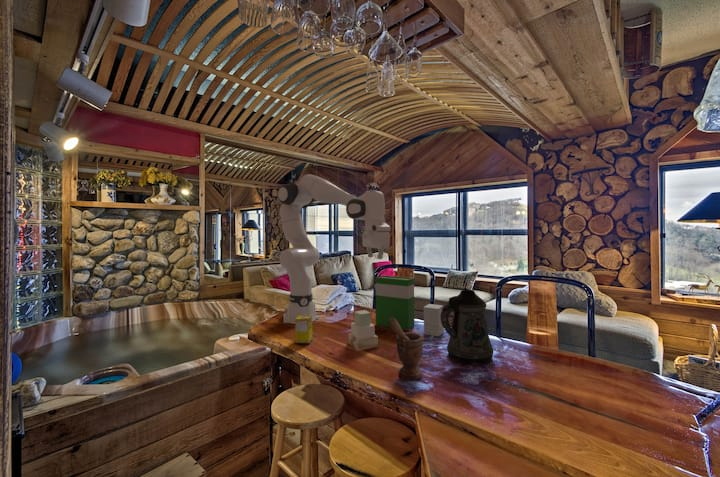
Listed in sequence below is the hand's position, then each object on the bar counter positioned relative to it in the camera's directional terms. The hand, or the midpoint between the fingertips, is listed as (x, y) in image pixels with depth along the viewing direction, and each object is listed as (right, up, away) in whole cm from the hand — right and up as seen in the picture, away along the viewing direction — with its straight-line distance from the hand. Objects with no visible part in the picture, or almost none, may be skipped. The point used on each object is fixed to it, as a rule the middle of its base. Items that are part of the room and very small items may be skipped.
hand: (374, 258), depth 141 cm
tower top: (-6, -32, -9) cm, 33 cm away
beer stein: (+34, -36, -22) cm, 54 cm away
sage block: (-6, -27, -9) cm, 29 cm away
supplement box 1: (-31, -36, -5) cm, 48 cm away
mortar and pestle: (+9, -37, -37) cm, 53 cm away
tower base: (-5, -36, -8) cm, 37 cm away
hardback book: (+11, -35, +18) cm, 41 cm away
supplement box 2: (+27, -35, +6) cm, 45 cm away
